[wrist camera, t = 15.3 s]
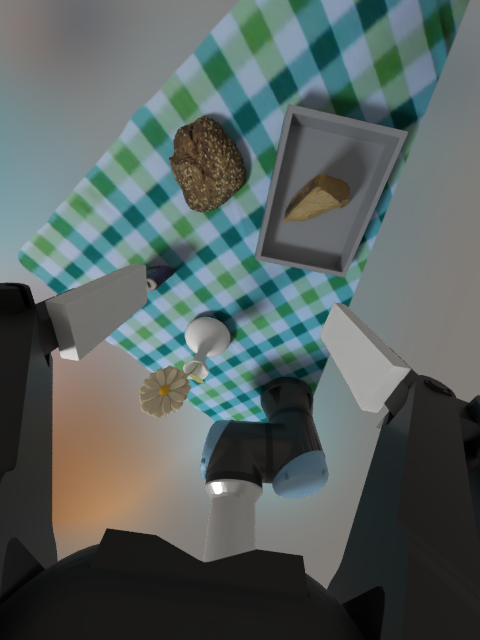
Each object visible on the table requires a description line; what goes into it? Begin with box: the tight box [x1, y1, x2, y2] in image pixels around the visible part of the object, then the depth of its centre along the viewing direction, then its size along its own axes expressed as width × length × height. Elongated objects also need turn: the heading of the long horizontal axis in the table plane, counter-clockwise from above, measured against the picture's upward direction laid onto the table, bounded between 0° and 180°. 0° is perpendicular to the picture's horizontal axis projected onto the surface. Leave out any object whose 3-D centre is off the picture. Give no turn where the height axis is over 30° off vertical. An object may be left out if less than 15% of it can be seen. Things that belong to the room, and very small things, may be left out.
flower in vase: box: [139, 317, 230, 418], centre depth 41 cm, size 13×11×25 cm
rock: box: [283, 174, 350, 222], centre depth 34 cm, size 11×9×10 cm
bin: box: [255, 104, 408, 277], centre depth 36 cm, size 22×18×4 cm
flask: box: [146, 266, 174, 291], centre depth 41 cm, size 9×3×11 cm, turn 101°
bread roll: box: [169, 117, 246, 212], centre depth 34 cm, size 13×12×5 cm
